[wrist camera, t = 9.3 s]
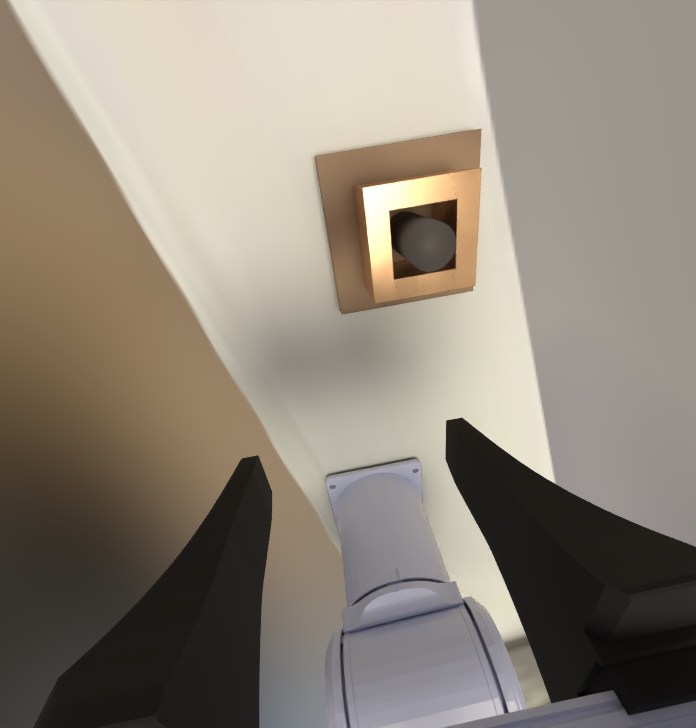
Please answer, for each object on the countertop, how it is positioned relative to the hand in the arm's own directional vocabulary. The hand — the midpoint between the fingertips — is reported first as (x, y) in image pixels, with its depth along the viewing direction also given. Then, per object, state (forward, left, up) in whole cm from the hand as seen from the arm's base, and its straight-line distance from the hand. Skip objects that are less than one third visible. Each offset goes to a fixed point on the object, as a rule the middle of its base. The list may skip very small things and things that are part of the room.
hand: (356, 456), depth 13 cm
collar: (+6, -5, -9) cm, 12 cm away
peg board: (+6, -5, -10) cm, 13 cm away
